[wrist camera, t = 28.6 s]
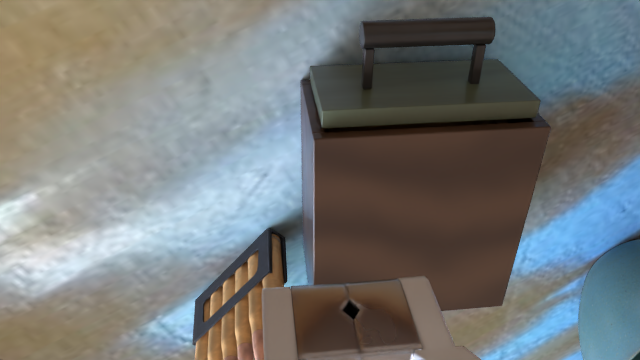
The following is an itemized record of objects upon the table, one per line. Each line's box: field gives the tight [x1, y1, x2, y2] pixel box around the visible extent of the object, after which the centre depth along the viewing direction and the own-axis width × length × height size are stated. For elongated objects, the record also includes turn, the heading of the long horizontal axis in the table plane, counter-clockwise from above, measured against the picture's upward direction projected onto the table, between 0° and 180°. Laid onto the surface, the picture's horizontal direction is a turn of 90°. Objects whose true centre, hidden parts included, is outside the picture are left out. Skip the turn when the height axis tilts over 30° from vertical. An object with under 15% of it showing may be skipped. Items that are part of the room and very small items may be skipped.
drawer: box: [310, 17, 540, 133], centre depth 38 cm, size 19×13×7 cm
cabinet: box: [301, 80, 551, 311], centre depth 40 cm, size 16×15×9 cm
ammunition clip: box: [193, 229, 287, 360], centre depth 43 cm, size 11×2×12 cm, turn 138°
